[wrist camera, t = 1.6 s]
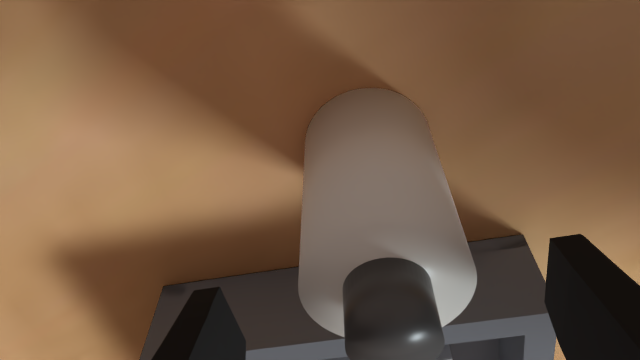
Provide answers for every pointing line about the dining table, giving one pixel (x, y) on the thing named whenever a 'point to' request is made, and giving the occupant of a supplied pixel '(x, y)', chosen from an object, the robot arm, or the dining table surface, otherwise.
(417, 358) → the bottle
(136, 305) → the dining table surface
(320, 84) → the dining table surface
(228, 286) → the walled box
